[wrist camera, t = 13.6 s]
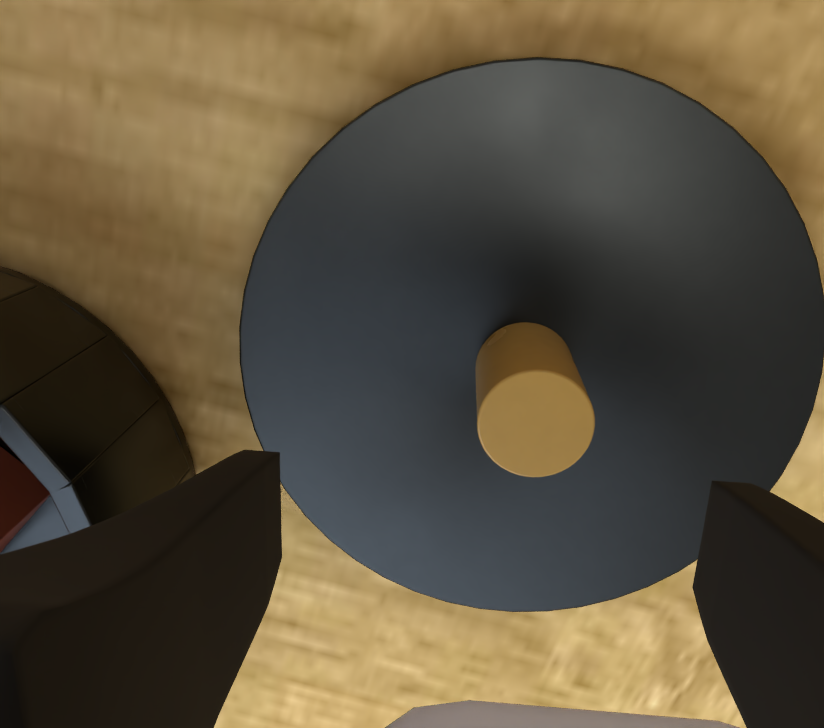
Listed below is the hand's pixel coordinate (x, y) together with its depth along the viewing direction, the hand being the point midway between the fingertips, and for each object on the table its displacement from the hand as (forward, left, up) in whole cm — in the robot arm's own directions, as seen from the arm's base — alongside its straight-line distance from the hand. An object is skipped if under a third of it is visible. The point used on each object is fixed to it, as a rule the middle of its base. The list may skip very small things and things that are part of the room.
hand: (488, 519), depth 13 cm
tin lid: (+1, +1, -7) cm, 7 cm away
